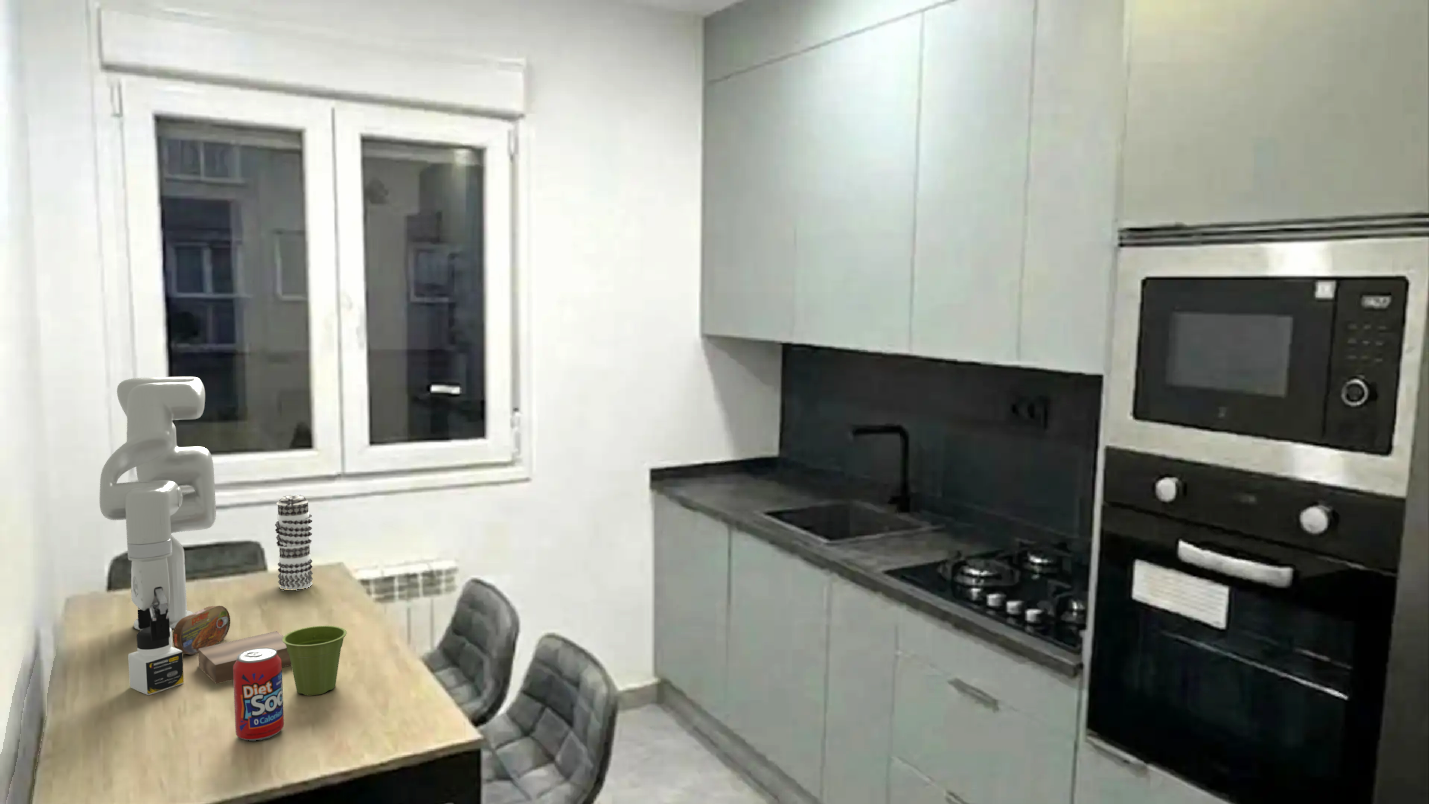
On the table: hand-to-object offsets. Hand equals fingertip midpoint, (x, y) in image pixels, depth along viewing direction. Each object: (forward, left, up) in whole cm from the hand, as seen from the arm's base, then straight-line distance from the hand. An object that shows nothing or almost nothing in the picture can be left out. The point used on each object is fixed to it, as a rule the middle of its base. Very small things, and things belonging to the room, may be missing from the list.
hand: (154, 633), depth 185 cm
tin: (-18, +13, -12) cm, 25 cm away
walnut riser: (0, +17, -11) cm, 20 cm away
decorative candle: (-50, +45, -11) cm, 68 cm away
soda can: (+35, +8, -11) cm, 38 cm away
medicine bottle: (-1, 0, -11) cm, 11 cm away
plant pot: (+22, +23, -11) cm, 34 cm away
